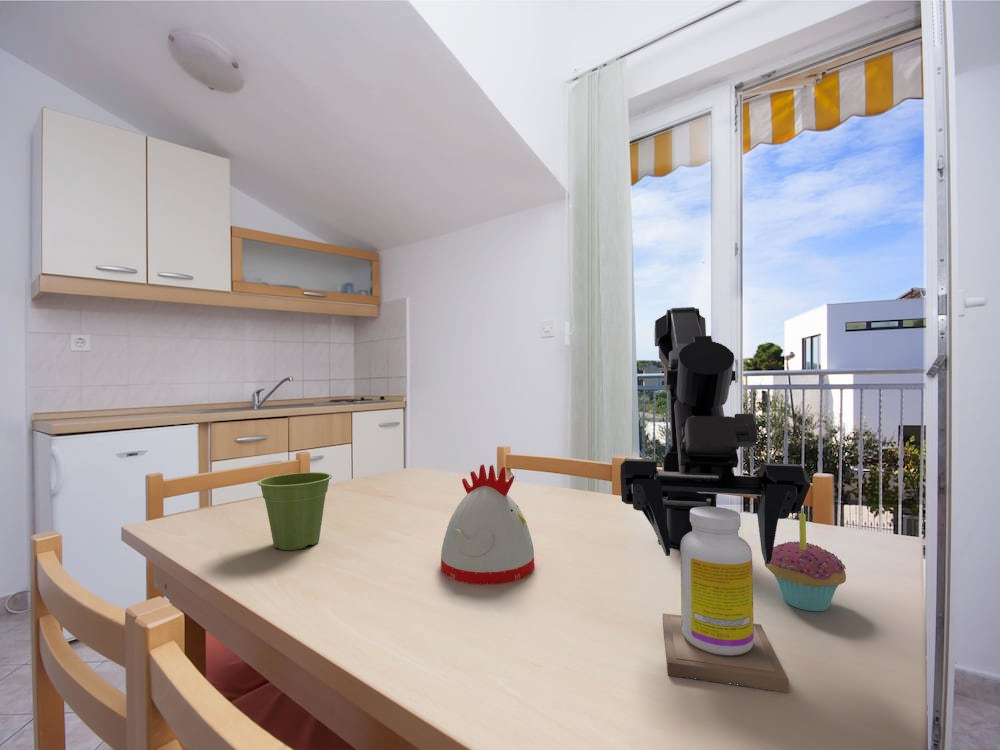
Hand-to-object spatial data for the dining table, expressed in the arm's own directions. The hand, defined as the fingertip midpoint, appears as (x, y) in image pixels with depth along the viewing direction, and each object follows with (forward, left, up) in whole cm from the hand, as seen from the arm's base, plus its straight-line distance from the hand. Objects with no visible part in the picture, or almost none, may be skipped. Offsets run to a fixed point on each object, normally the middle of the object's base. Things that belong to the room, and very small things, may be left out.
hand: (716, 558), depth 49 cm
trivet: (0, 0, -10) cm, 10 cm away
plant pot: (-61, -27, -10) cm, 68 cm away
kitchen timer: (-34, -5, -10) cm, 36 cm away
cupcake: (-1, +20, -10) cm, 22 cm away
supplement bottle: (-1, +1, -9) cm, 9 cm away
